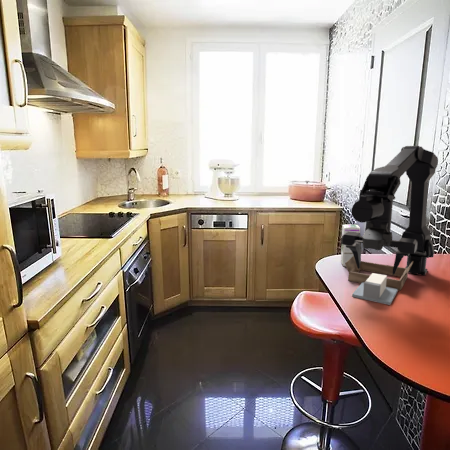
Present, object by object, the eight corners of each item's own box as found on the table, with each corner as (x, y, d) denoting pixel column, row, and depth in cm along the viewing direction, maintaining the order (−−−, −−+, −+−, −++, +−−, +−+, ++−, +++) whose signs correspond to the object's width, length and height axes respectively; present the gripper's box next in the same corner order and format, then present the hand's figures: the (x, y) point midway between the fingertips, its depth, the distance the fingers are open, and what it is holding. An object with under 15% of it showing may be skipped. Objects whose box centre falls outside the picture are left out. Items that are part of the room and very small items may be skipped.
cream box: (371, 285, 104) (372, 272, 103) (385, 288, 101) (386, 275, 100) (363, 296, 96) (363, 283, 95) (378, 299, 94) (379, 286, 93)
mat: (362, 284, 107) (362, 282, 106) (397, 291, 101) (397, 288, 101) (352, 296, 98) (352, 294, 98) (390, 305, 92) (390, 302, 92)
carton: (355, 268, 121) (356, 252, 120) (412, 278, 111) (413, 261, 110) (343, 279, 111) (344, 262, 109) (405, 291, 100) (407, 273, 99)
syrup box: (359, 267, 122) (361, 227, 119) (341, 266, 123) (344, 227, 120) (356, 262, 128) (358, 224, 125) (340, 261, 129) (341, 223, 126)
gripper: (336, 218, 92) (333, 273, 96) (414, 226, 82) (408, 287, 85) (348, 212, 101) (345, 262, 104) (420, 218, 91) (414, 274, 94)
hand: (375, 271), depth 97 cm, fingers open, 9 cm apart
